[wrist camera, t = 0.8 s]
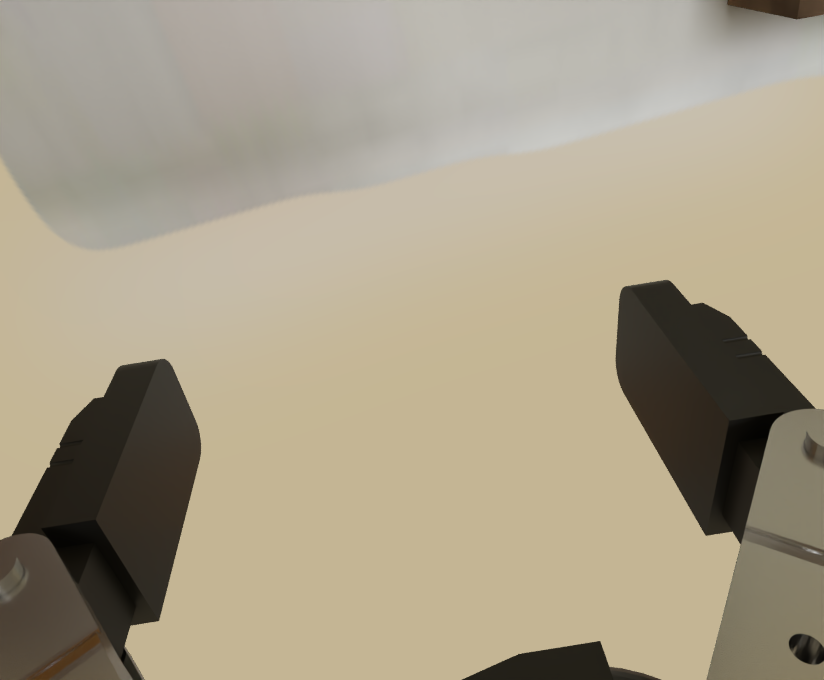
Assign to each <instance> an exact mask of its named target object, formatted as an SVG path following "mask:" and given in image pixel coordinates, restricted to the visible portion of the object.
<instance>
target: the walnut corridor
mask: <svg viewBox="0 0 824 680" xmlns="http://www.w3.org/2000/svg"><path fill="white" fill-rule="evenodd" d="M728 5H732V6H736V7H741V8H746V9H751V10H755V11H760V12H765V13H770V14H774V15H779V16H784V17H789V18H793V19H801V18H807V17H812V16H818V15H823V14H824V0H728Z"/></svg>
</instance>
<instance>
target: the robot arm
mask: <svg viewBox="0 0 824 680" xmlns="http://www.w3.org/2000/svg"><path fill="white" fill-rule="evenodd" d="M619 300H620V301H619V314H618V330H617V345H616V369H617V375H618V379H619V383H620V386H621V388H622V390H623V393H624V394H625V396H626V398H627V400H628V401H629V403H630V405H631V407H632V408H633V410H634V411H635V414H636V415H637V417H638V419H639V420H640V422H641V424H642V426H643V427H644V429H645V431H646V433H647V434H648V436H649V438H650V440H651V441H652V443H653V445H654V447H655V448H656V450H657V452H658V454H659V455H660V457H661V459H662V460H663V462H664V464H665V466H666V467H667V469H668V471H669V473H670V474H671V476H672V478H673V480H674V481H675V483H676V485H677V487H678V488H679V490H680V492H681V493H682V495H683V497H684V499H685V500H686V502H687V504H688V506H689V507H690V509H691V511H692V513H693V514H694V516H695V518H696V520H697V521H698V523H699V525H700V527H701V528H702V530H703V532H704V533H705V535H706V536H707V535H713V534H720V533H726V532H732V531H733V533H734V535H735V536H736V538H737V539H738V541H739V543H740V544H741V546H740V551H739V554H738V558H737V562H736V566H735V570H734V573H733V578H732V582H731V585H730V589H729V593H728V597H727V601H726V605H725V609H724V613H723V617H722V621H721V625H720V629H719V633H718V637H717V641H716V645H715V649H714V652H713V656H712V660H711V664H710V668H709V672H708V676H707V680H824V410H822V409H815V407H814V406H813V405H812V404H811V403H810V402H809V401H808V400H807V399H806V398H805V397H804V396H803V395H802V394H801V393H800V391H798V389H797V388H796V387H795V386H794V385H793V384H792V383H791V382H790V381H789V380H788V379H787V378H786V377H785V376H784V374H783V373H782V372H781V371H780V370H779V369H778V368H777V367H776V366H775V365H774V364H773V363H772V362H771V361H770V359H769V358H768V357H767V356H766V355H762V351H761V350H760V349H759V348H758V347H757V345H756V344H755V343H754V342H753V341H752V340H751V339H750V340H748V339H747V335H746V334H745V333H744V332H743V330H742V329H741V328H740V327H739V326H738V325H737V324H736V323H735V322H734V321H733V320H732V319H731V318H730V317H729V316H727V315H725V314H723V313H721V312H719V311H717V310H716V309H714V308H712V307H710V306H708V305H706V304H704V303H699V304H693V305H691V304H690V303H689V302H688V301H687V299H686V298H685V297H684V296H683V295H682V294H681V292H680V291H679V290H678V289H677V288H676V287H675V286H674V284H673V283H671V282H670V281H669V280H663V281H657V282H650V283H644V284H638V285H631V286H626V287H624V288H623V289H622V290H621V294H620V299H619ZM200 455H201V440H200V433H199V429H198V426H197V423H196V420H195V418H194V416H193V413H192V411H191V409H190V406H189V404H188V402H187V400H186V397H185V395H184V393H183V390H182V388H181V386H180V383H179V381H178V379H177V376H176V374H175V372H174V370H173V367H172V366H171V364H170V363H169V362H168V361H167V360H165V359H160V360H154V361H147V362H141V363H134V364H128V365H122V366H120V367H119V368H118V369H117V370H116V372H115V374H114V377H113V379H112V381H111V383H110V385H109V387H108V389H107V391H106V393H105V395H104V397H102V398H95V399H93V400H92V401H91V402H90V403H89V404H88V405H87V406H86V407H85V408H84V409H83V410H82V411H81V412H80V413H79V414H78V415H77V416H76V417H75V418H74V419H73V420H72V421H71V423H70V425H69V426H68V428H67V430H66V432H65V434H64V436H63V438H62V440H61V442H60V448H57V450H56V452H55V453H54V455H53V457H52V459H51V461H50V467H49V468H47V469H46V471H45V473H44V475H43V476H42V478H41V480H40V482H39V484H38V486H37V488H36V490H35V492H34V494H33V496H32V498H31V500H30V502H29V503H28V505H27V507H26V509H25V511H24V513H23V515H22V517H21V519H20V521H19V523H18V525H17V527H16V529H15V531H14V533H13V534H12V536H10V537H7V538H4V539H2V540H0V680H145V679H144V677H143V676H142V674H141V672H140V670H139V669H138V667H137V665H136V663H135V662H134V660H133V658H132V656H131V655H130V653H129V652H128V650H127V649H126V648H125V642H126V639H127V635H128V632H129V628H130V626H131V625H137V624H143V623H149V622H156V621H159V618H160V614H161V611H162V607H163V603H164V599H165V595H166V591H167V587H168V582H169V579H170V574H171V571H172V567H173V563H174V559H175V555H176V551H177V547H178V543H179V540H180V535H181V532H182V528H183V524H184V520H185V515H186V512H187V508H188V504H189V500H190V496H191V492H192V488H193V484H194V480H195V476H196V472H197V468H198V464H199V460H200ZM462 680H660V679H658V678H655V677H652V676H649V675H646V674H643V673H639V672H635V671H631V670H626V669H622V668H614V667H609V665H608V662H607V660H606V656H605V654H604V651H603V648H602V645H601V642H600V641H598V642H592V643H585V644H579V645H573V646H567V647H561V648H554V649H548V650H542V651H536V652H529V653H523V654H518V655H516V656H514V657H511V658H509V659H507V660H505V661H502V662H500V663H498V664H496V665H494V666H491V667H489V668H487V669H485V670H482V671H480V672H478V673H476V674H474V675H471V676H469V677H467V678H465V679H462Z"/></svg>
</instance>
